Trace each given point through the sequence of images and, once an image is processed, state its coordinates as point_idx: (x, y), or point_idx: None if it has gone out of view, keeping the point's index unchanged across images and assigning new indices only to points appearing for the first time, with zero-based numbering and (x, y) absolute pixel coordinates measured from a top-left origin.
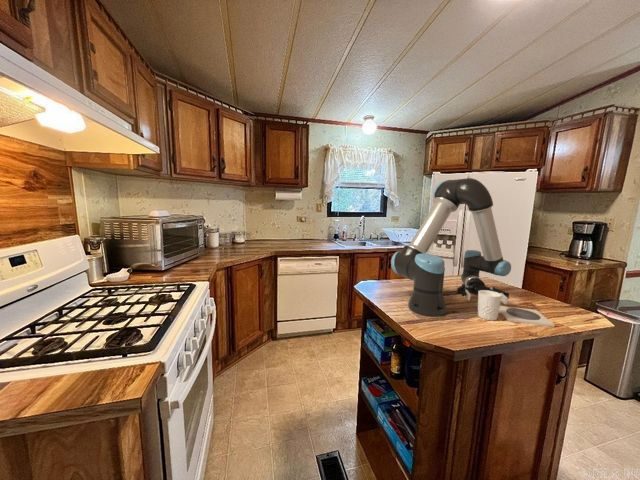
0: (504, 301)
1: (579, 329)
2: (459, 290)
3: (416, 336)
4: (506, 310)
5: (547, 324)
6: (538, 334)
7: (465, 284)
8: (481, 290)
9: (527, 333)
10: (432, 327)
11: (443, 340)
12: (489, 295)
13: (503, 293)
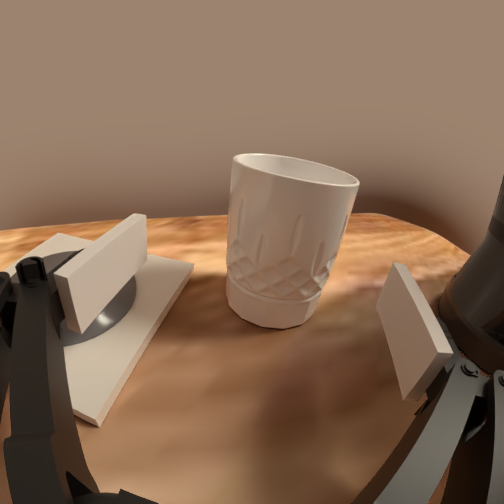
0: (140, 251)
1: (14, 231)
2: (484, 382)
3: (438, 236)
4: (113, 321)
5: (73, 238)
6: (166, 220)
7: None
8: (338, 184)
9: (195, 224)
10: (432, 253)
11: (399, 226)
12: (271, 209)
13: (44, 273)
